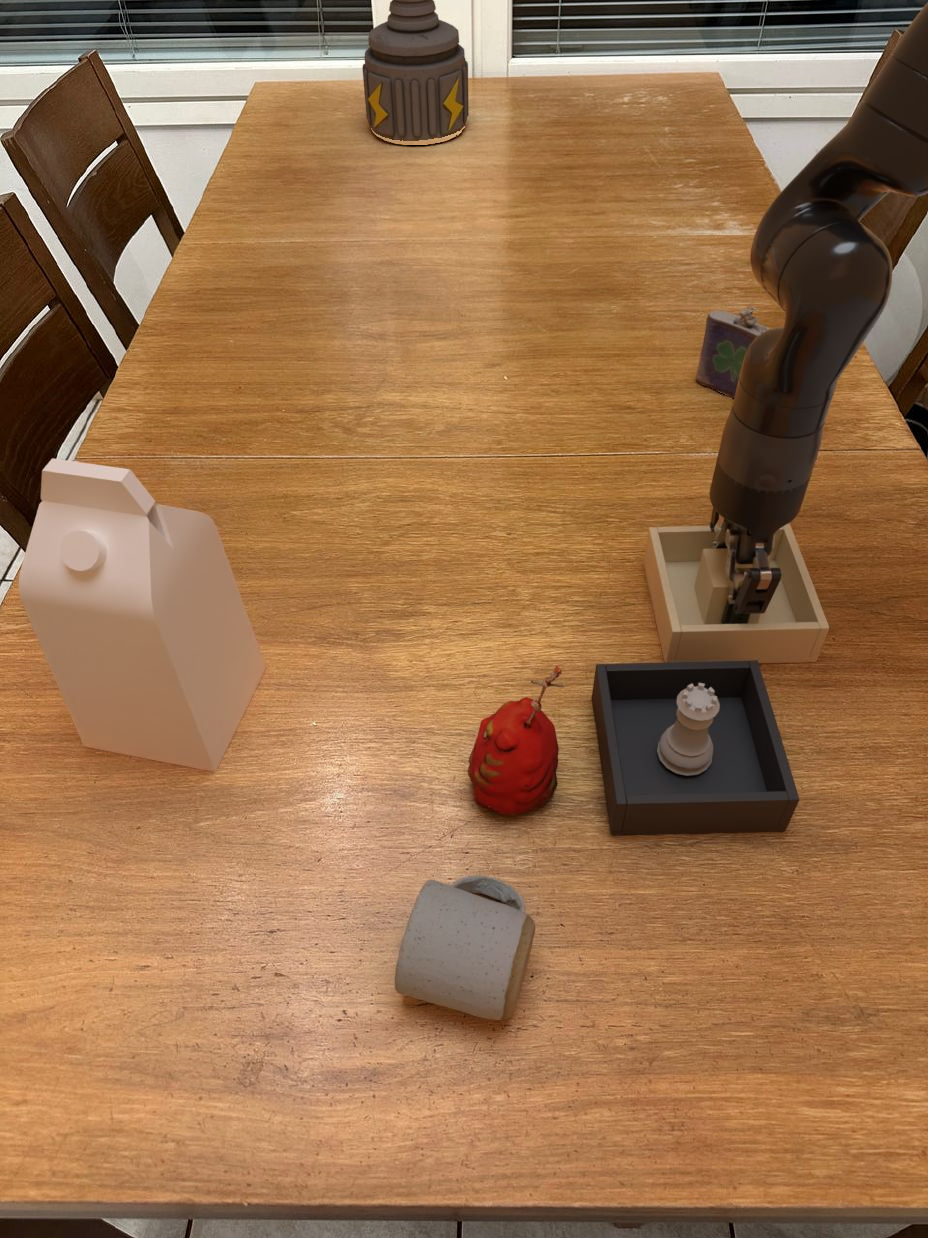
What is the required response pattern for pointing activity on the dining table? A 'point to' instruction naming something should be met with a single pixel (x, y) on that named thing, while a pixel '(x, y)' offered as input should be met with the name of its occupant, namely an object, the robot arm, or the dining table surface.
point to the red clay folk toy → (516, 756)
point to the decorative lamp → (415, 75)
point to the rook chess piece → (690, 732)
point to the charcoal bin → (741, 763)
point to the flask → (726, 348)
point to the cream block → (715, 586)
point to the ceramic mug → (466, 947)
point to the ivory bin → (777, 637)
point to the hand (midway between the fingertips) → (726, 602)
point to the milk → (138, 617)
